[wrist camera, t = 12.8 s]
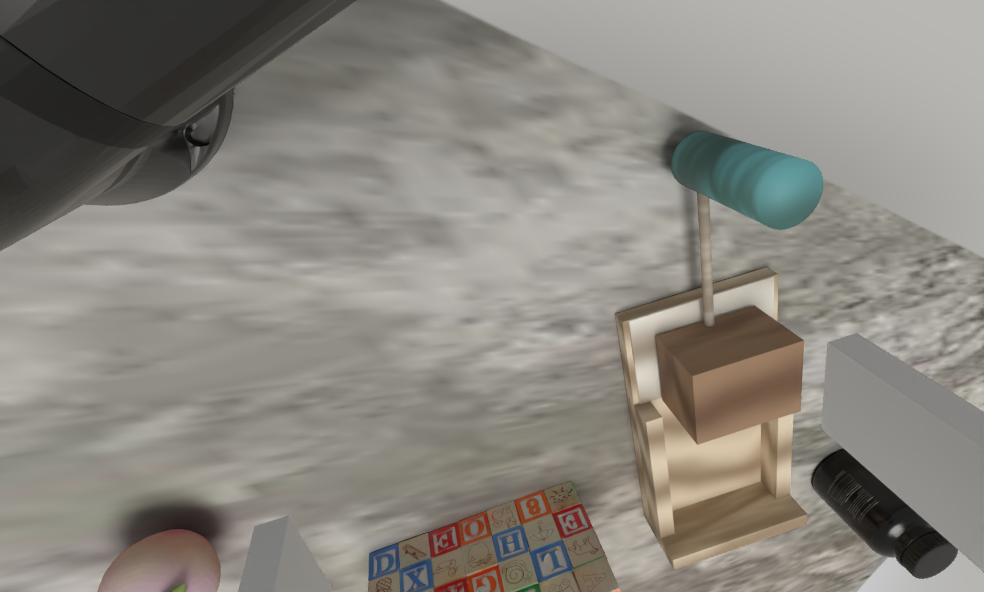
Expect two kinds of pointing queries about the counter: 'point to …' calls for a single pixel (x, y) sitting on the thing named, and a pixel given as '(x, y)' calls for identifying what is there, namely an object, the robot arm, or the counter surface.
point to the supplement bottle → (881, 516)
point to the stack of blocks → (502, 551)
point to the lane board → (714, 464)
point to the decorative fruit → (165, 565)
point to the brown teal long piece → (747, 332)
